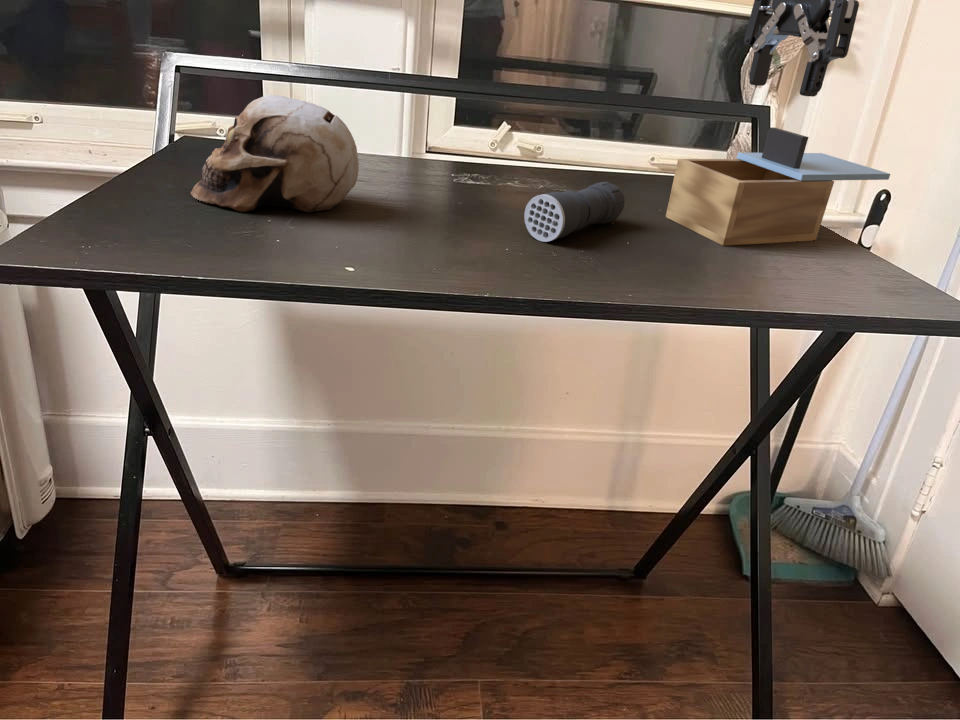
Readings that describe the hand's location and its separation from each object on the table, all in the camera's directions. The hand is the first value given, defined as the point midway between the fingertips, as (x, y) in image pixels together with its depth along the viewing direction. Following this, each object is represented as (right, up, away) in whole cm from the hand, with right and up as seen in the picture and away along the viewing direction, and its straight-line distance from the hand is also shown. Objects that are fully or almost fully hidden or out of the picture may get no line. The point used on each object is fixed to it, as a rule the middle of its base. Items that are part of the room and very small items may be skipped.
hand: (781, 90), depth 91 cm
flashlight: (-25, -17, +2) cm, 30 cm away
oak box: (-2, -15, +10) cm, 18 cm away
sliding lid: (+8, -7, +10) cm, 15 cm away
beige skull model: (-62, -14, 0) cm, 64 cm away
